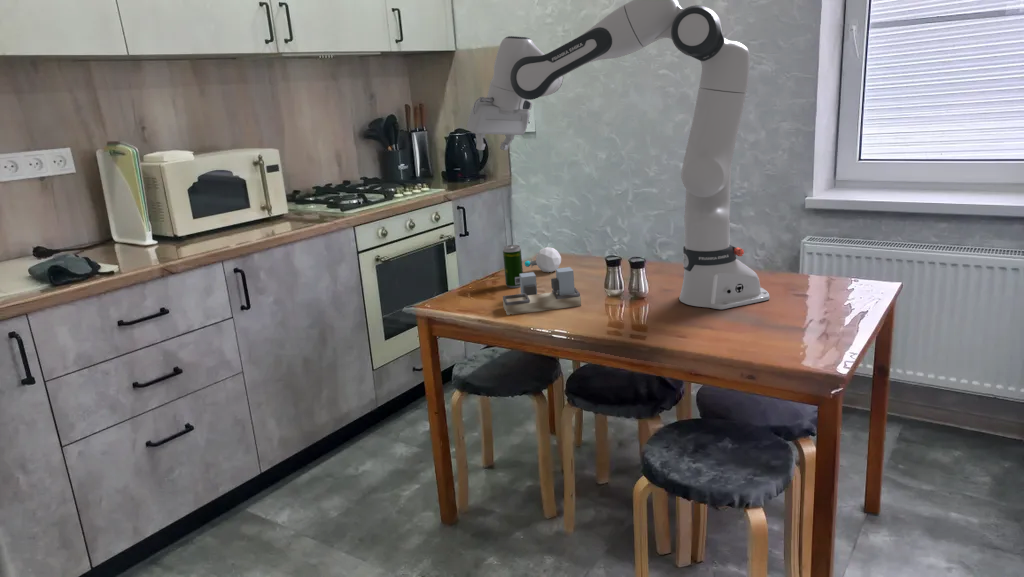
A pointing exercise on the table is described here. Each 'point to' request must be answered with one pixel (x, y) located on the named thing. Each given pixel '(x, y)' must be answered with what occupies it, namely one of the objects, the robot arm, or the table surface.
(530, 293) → the block
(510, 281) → the beer can
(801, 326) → the table surface
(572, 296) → the rail
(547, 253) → the perfume bottle
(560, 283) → the block
